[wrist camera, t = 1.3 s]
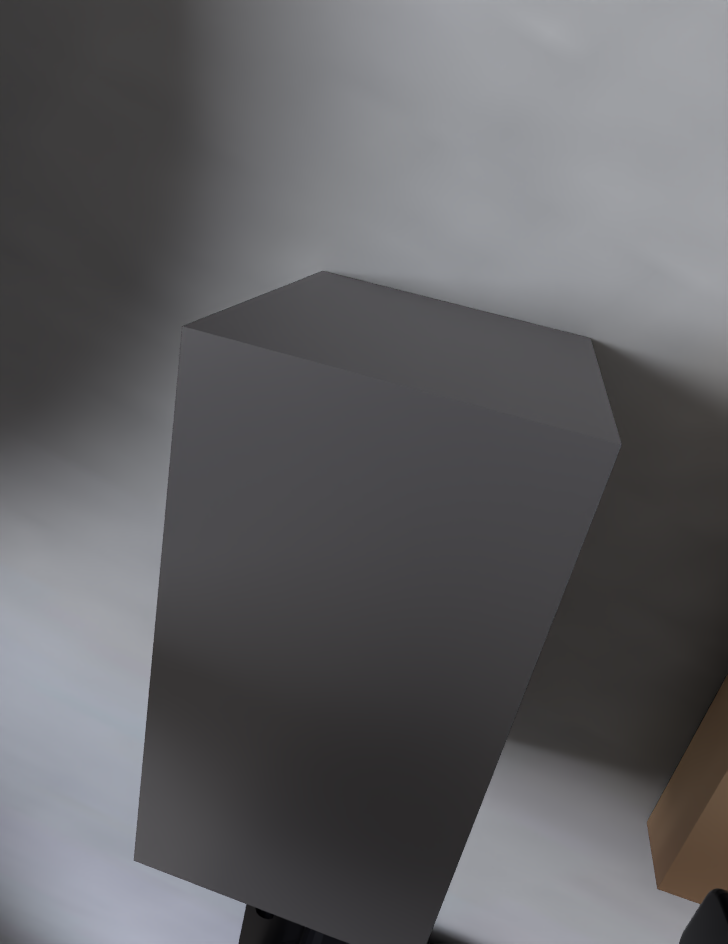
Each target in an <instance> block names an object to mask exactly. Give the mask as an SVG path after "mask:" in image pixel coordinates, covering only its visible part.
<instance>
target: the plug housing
mask: <svg viewBox="0 0 728 944" xmlns="http://www.w3.org/2000/svg"><path fill="white" fill-rule="evenodd" d="M621 446H622V444H621V440H620V437H619V434H618V430H617V427H616V423H615V420H614V416H613V413H612V410H611V406H610V403H609V399H608V396H607V393H606V389H605V386H604V382H603V379H602V376H601V372H600V369H599V365H598V362H597V358H596V355H595V352H594V348H593V345H592V341H591V338H588V337H584V336H580V335H576V334H572V333H568V332H564V331H560V330H556V329H552V328H548V327H544V326H540V325H536V324H532V323H528V322H524V321H520V320H516V319H512V318H508V317H504V316H500V315H496V314H492V313H488V312H484V311H480V310H476V309H472V308H468V307H464V306H460V305H456V304H452V303H448V302H444V301H440V300H436V299H432V298H428V297H424V296H420V295H416V294H412V293H408V292H404V291H401V290H397V289H393V288H389V287H385V286H381V285H377V284H373V283H369V282H365V281H361V280H357V279H353V278H349V277H345V276H341V275H337V274H333V273H329V272H325V271H321V272H318V273H316V274H313V275H311V276H308V277H306V278H303V279H301V280H298V281H295V282H293V283H290V284H288V285H285V286H283V287H280V288H278V289H275V290H273V291H270V292H268V293H265V294H263V295H260V296H258V297H255V298H252V299H250V300H247V301H245V302H242V303H240V304H237V305H235V306H232V307H230V308H227V309H225V310H222V311H220V312H217V313H214V314H212V315H209V316H207V317H204V318H202V319H199V320H197V321H194V322H192V323H189V324H187V325H184V326H182V335H181V346H180V357H179V368H178V379H177V390H176V401H175V412H174V423H173V434H172V445H171V456H170V467H169V478H168V489H167V500H166V511H165V522H164V533H163V544H162V555H161V566H160V577H159V588H158V599H157V610H156V621H155V632H154V643H153V655H152V666H151V677H150V688H149V699H148V710H147V721H146V732H145V743H144V754H143V765H142V776H141V787H140V798H139V809H138V820H137V831H136V842H135V853H134V861H136V862H139V863H142V864H144V865H147V866H149V867H152V868H154V869H157V870H160V871H162V872H165V873H167V874H170V875H173V876H175V877H178V878H180V879H183V880H186V881H188V882H191V883H193V884H196V885H199V886H201V887H204V888H206V889H209V890H212V891H214V892H217V893H219V894H222V895H225V896H227V897H230V898H232V899H235V900H238V901H240V902H243V903H245V904H248V905H251V906H253V907H256V908H258V909H261V910H264V911H266V912H269V913H271V914H274V915H276V916H279V917H282V918H284V919H287V920H289V921H292V922H295V923H297V924H300V925H302V926H305V927H308V928H310V929H313V930H315V931H318V932H321V933H323V934H326V935H328V936H331V937H334V938H336V939H339V940H341V941H344V942H347V943H349V944H427V942H428V939H429V936H430V934H431V931H432V929H433V926H434V924H435V921H436V919H437V916H438V913H439V911H440V908H441V906H442V903H443V901H444V898H445V896H446V893H447V890H448V888H449V885H450V883H451V880H452V878H453V875H454V873H455V870H456V867H457V865H458V862H459V860H460V857H461V855H462V852H463V850H464V847H465V844H466V842H467V839H468V837H469V834H470V832H471V829H472V827H473V824H474V821H475V819H476V816H477V814H478V811H479V809H480V806H481V804H482V801H483V798H484V796H485V793H486V791H487V788H488V786H489V783H490V781H491V778H492V775H493V773H494V770H495V768H496V765H497V763H498V760H499V758H500V755H501V752H502V750H503V747H504V745H505V742H506V740H507V737H508V735H509V732H510V729H511V727H512V724H513V722H514V719H515V717H516V714H517V712H518V709H519V706H520V704H521V701H522V699H523V696H524V694H525V691H526V689H527V686H528V683H529V681H530V678H531V676H532V673H533V671H534V668H535V666H536V663H537V660H538V658H539V655H540V653H541V650H542V648H543V645H544V643H545V640H546V637H547V635H548V632H549V630H550V627H551V625H552V622H553V619H554V617H555V614H556V612H557V609H558V607H559V604H560V602H561V599H562V596H563V594H564V591H565V589H566V586H567V584H568V581H569V579H570V576H571V573H572V571H573V568H574V566H575V563H576V561H577V558H578V556H579V553H580V550H581V548H582V545H583V543H584V540H585V538H586V535H587V533H588V530H589V527H590V525H591V522H592V520H593V517H594V515H595V512H596V510H597V507H598V504H599V502H600V499H601V497H602V494H603V492H604V489H605V487H606V484H607V481H608V479H609V476H610V474H611V471H612V469H613V466H614V464H615V461H616V458H617V456H618V453H619V451H620V448H621Z"/></svg>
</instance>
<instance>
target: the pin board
mask: <svg viewBox="0 0 728 944" xmlns="http://www.w3.org/2000/svg"><path fill="white" fill-rule="evenodd" d="M647 827H648V833H649V840H650V846H651V852H652V858H653V865H654V871H655V877H656V884H657V889H659V890H662V891H665V892H667V893H670V894H673V895H676V896H679V897H682V898H684V899H687V900H690V901H693V902H696V903H699V904H701V903H702V902H703V900H704V898H705V897H706V895H707V894H708V893H709V892H710V891H711V890H713V889H716V888H719V889H724V890H726V891H728V674H727V676H726V678H725V680H724V682H723V684H722V685H721V687H720V689H719V691H718V693H717V695H716V696H715V698H714V700H713V702H712V704H711V706H710V707H709V709H708V711H707V713H706V715H705V717H704V718H703V720H702V722H701V724H700V726H699V728H698V729H697V731H696V733H695V735H694V737H693V739H692V740H691V742H690V744H689V746H688V748H687V750H686V751H685V753H684V755H683V757H682V759H681V761H680V762H679V764H678V766H677V768H676V770H675V772H674V774H673V775H672V777H671V779H670V781H669V783H668V785H667V786H666V788H665V790H664V792H663V794H662V796H661V797H660V799H659V801H658V803H657V805H656V807H655V808H654V810H653V812H652V814H651V816H650V818H649V819H648V821H647Z"/></svg>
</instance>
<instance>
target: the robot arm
mask: <svg viewBox="0 0 728 944" xmlns="http://www.w3.org/2000/svg"><path fill="white" fill-rule="evenodd" d="M239 944H349V943H347V942H344V941H341V940H339V939H336V938H334V937H331V936H328V935H326V934H323V933H321V932H318V931H315V930H313V929H310V928H308V927H305V926H302V925H300V924H297V923H295V922H292V921H289V920H287V919H284V918H282V917H279V916H276V915H274V914H271V913H269V912H266V911H264V910H261V909H258V908H256V907H253V906H251V905H248V904H247V905H246V910H245V915H244V920H243V924H242V929H241V934H240V939H239ZM427 944H429V943H427ZM679 944H728V891H726V890H724V889H719V888H716V889H713V890H711V891H710V892H709V893H708V894H707V895H706V897H705V898H704V900H703V902H702V903H701V905H700V906H699V908H698V909H697V911H696V913H695V914H694V916H693V917H692V919H691V921H690V922H689V924H688V925H687V927H686V928H685V930H684V932H683V934H682V936H681V939H680V942H679Z"/></svg>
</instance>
